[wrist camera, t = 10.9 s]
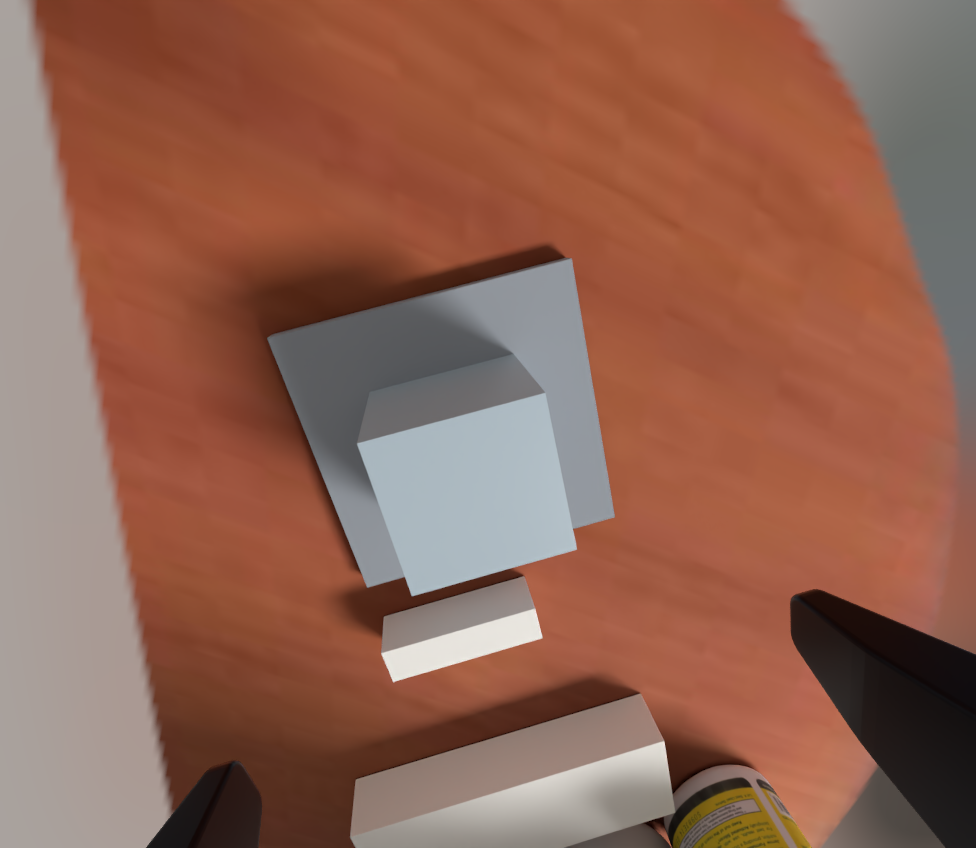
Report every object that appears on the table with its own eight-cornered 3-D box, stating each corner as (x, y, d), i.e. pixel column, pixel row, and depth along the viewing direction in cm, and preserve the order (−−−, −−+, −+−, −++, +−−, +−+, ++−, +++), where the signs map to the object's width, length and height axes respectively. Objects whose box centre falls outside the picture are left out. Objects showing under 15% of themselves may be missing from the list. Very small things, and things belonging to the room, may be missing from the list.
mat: (368, 577, 21) (367, 587, 20) (271, 334, 17) (267, 338, 16) (609, 509, 21) (614, 517, 21) (566, 257, 17) (571, 258, 17)
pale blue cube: (411, 516, 19) (412, 596, 15) (369, 391, 18) (357, 443, 13) (541, 480, 20) (576, 549, 15) (513, 353, 18) (545, 392, 14)
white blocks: (387, 843, 26) (385, 903, 24) (288, 643, 21) (273, 695, 19) (652, 762, 27) (675, 812, 25) (616, 549, 22) (640, 587, 20)
